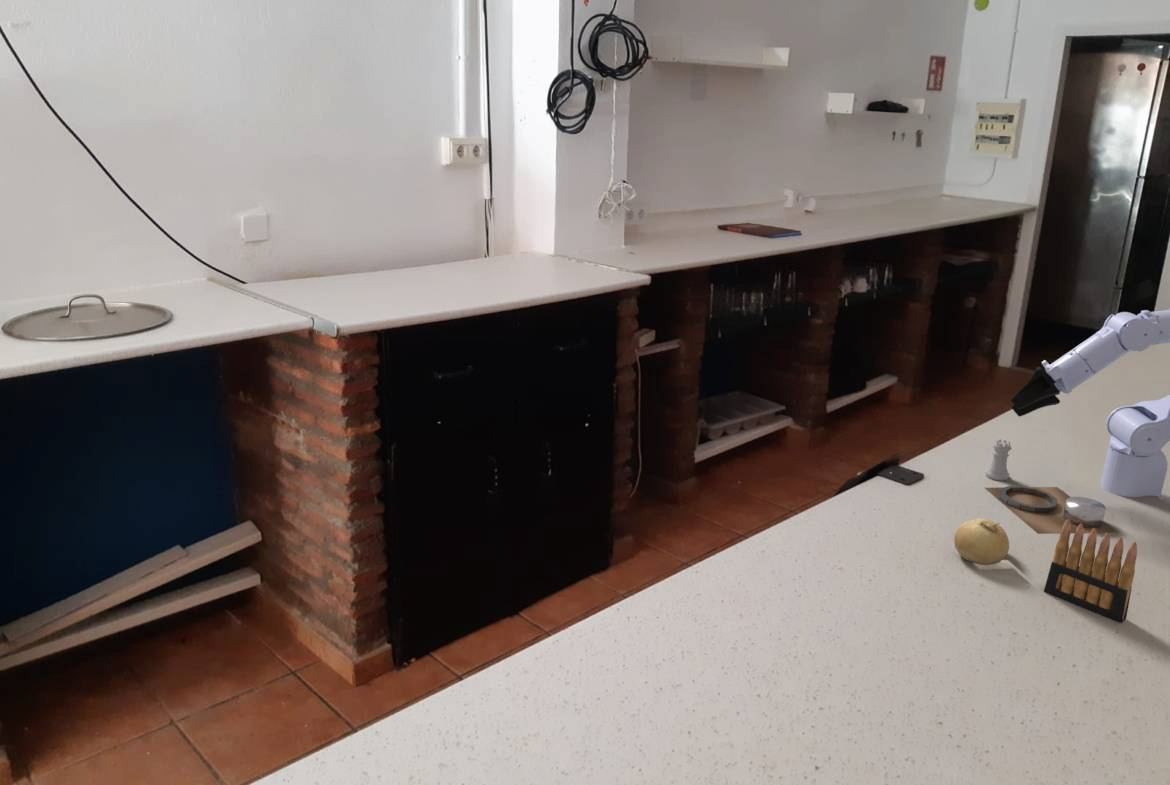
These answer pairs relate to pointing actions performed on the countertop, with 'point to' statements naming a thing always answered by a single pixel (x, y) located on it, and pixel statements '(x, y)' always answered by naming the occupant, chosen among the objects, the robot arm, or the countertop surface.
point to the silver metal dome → (1084, 512)
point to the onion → (981, 541)
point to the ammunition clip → (1092, 574)
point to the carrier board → (1045, 521)
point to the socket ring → (1028, 507)
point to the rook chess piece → (999, 461)
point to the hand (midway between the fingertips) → (1014, 408)
